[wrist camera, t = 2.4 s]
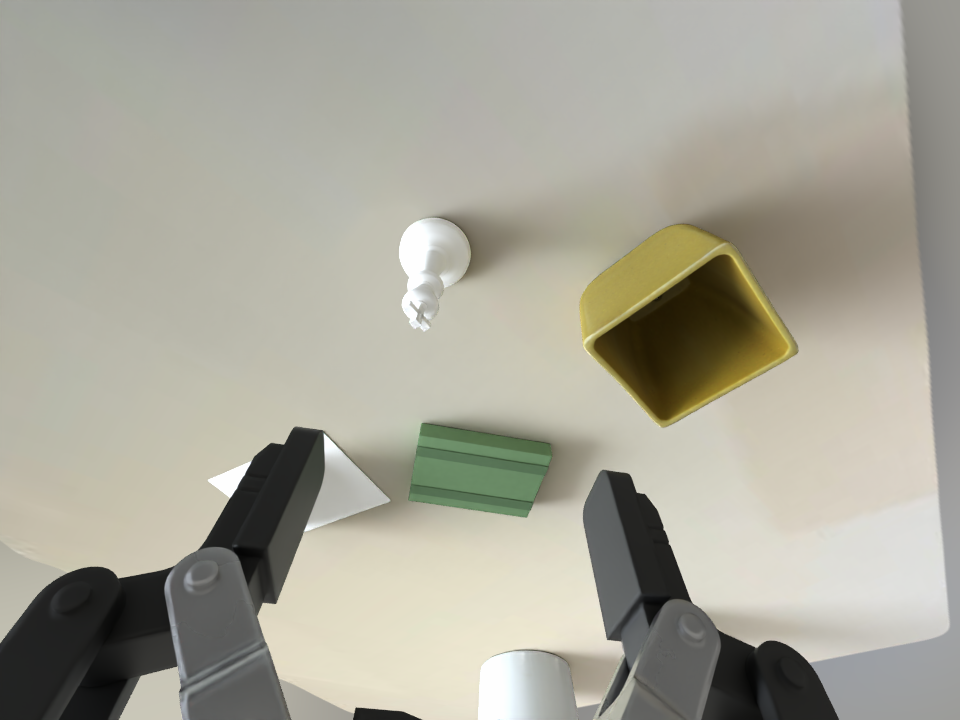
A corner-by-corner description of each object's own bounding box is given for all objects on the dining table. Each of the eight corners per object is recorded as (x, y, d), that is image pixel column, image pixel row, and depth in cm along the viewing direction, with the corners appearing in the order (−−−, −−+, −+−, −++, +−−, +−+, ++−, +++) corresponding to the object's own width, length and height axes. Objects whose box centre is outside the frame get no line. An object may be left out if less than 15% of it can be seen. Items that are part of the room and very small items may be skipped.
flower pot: (731, 284, 32) (804, 353, 24) (626, 353, 35) (662, 432, 28) (668, 190, 28) (731, 238, 21) (558, 277, 32) (578, 344, 24)
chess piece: (441, 202, 29) (421, 260, 21) (484, 261, 31) (482, 334, 23) (385, 244, 31) (346, 313, 22) (430, 297, 33) (409, 378, 25)
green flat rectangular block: (410, 487, 45) (408, 501, 44) (421, 422, 40) (419, 436, 39) (525, 504, 46) (526, 518, 45) (550, 443, 41) (552, 457, 40)
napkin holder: (285, 540, 51) (263, 590, 46) (206, 480, 45) (173, 530, 40) (392, 500, 46) (381, 551, 41) (320, 429, 41) (297, 478, 36)
